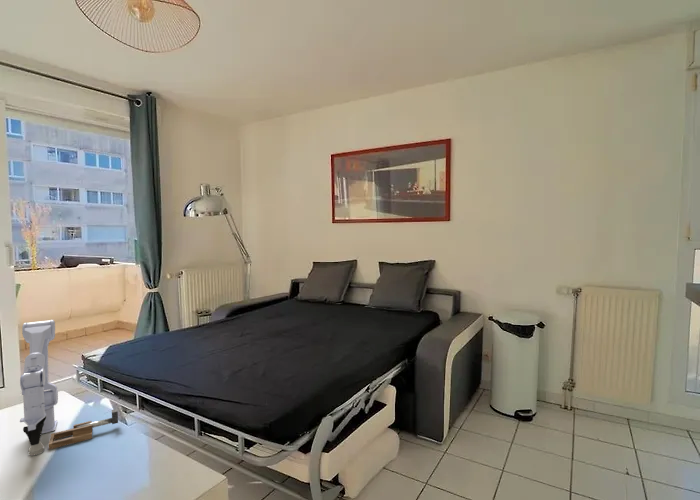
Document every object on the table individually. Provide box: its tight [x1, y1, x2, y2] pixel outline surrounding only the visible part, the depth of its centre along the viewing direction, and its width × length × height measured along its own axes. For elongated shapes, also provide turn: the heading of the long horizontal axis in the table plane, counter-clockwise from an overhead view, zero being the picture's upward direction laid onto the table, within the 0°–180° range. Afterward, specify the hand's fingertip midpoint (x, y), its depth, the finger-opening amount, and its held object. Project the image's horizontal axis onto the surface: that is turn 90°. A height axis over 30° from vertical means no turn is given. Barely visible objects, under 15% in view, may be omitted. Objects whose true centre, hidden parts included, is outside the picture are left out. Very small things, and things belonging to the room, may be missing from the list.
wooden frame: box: [48, 420, 93, 450], centre depth 143 cm, size 9×13×4 cm
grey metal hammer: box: [77, 408, 119, 429], centre depth 148 cm, size 3×14×5 cm, turn 124°
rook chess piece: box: [27, 435, 45, 457], centre depth 134 cm, size 4×4×8 cm
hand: (36, 441), depth 135 cm, fingers open, 4 cm apart
